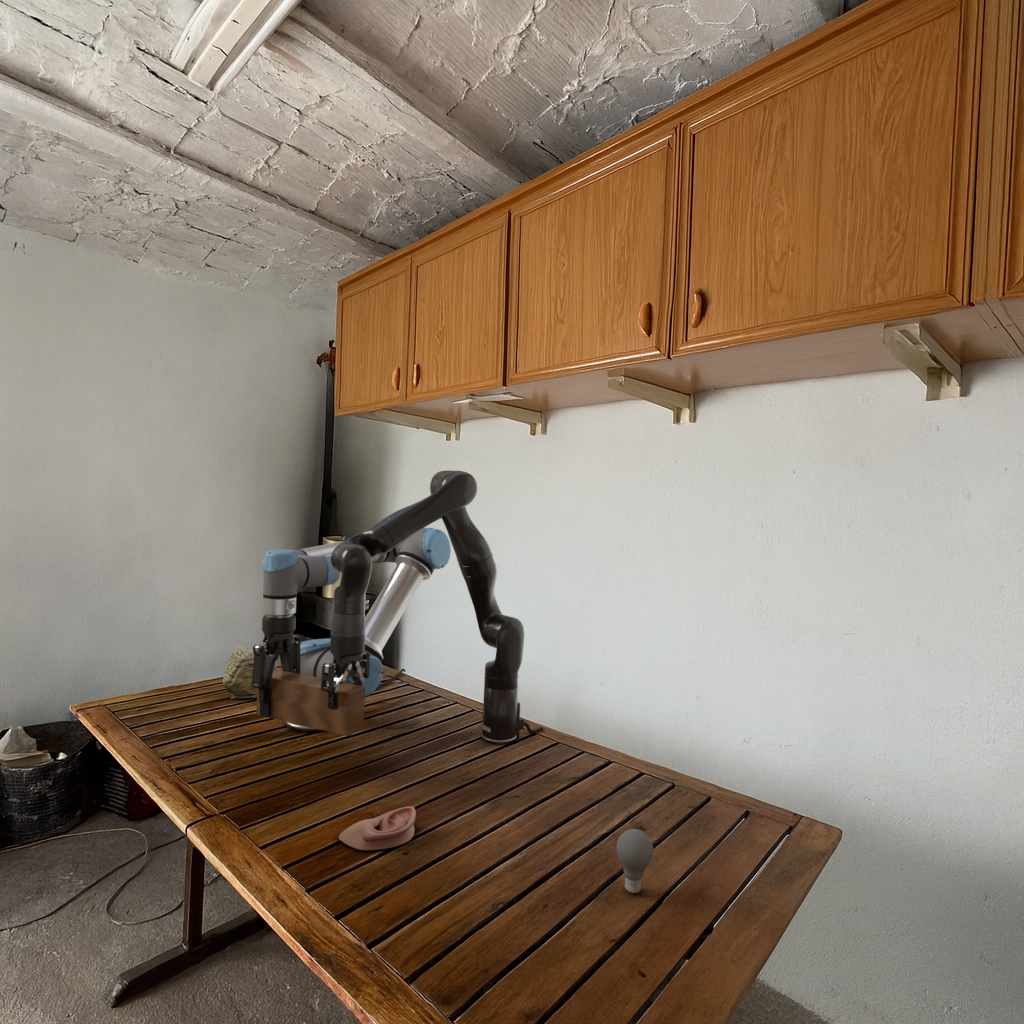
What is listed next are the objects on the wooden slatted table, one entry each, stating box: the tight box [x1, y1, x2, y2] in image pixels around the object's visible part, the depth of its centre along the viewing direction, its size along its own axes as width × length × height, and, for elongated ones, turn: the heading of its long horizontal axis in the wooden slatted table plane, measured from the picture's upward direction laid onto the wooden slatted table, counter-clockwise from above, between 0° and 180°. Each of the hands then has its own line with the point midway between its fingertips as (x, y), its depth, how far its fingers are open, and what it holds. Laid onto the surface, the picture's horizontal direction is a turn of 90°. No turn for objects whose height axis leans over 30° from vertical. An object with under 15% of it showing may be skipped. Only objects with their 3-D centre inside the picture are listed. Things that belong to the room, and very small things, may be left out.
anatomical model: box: [338, 805, 417, 851], centre depth 119 cm, size 13×4×12 cm
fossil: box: [222, 646, 280, 699], centre depth 198 cm, size 9×18×15 cm, turn 132°
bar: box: [256, 669, 366, 737], centre depth 147 cm, size 26×6×10 cm, turn 66°
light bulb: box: [615, 828, 654, 894], centre depth 106 cm, size 6×6×10 cm
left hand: (275, 711), depth 151 cm, fingers closed on bar, 6 cm apart
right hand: (345, 703), depth 142 cm, fingers open, 8 cm apart
